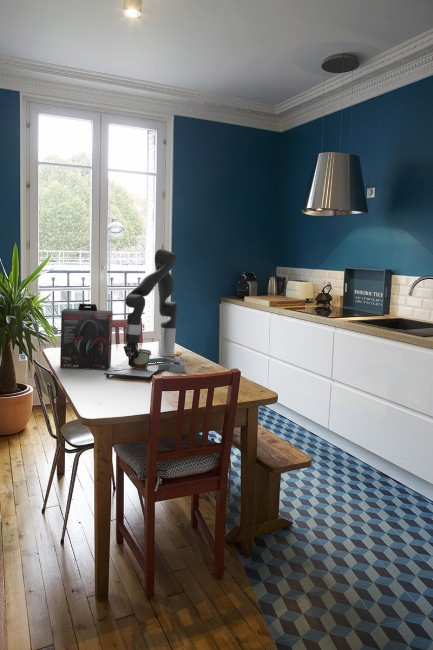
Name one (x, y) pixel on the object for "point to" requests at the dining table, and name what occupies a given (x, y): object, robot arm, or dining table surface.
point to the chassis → (168, 364)
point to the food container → (142, 360)
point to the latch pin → (177, 357)
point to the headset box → (86, 338)
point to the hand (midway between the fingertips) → (130, 365)
